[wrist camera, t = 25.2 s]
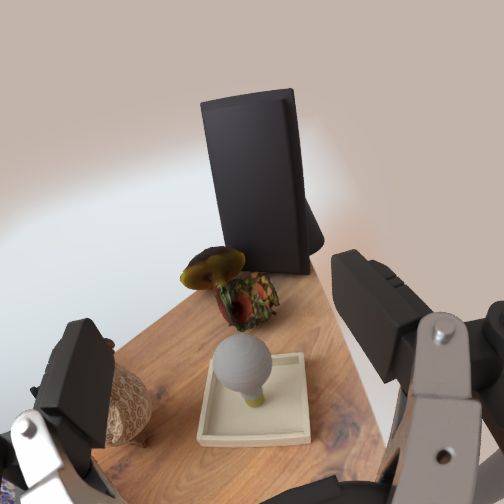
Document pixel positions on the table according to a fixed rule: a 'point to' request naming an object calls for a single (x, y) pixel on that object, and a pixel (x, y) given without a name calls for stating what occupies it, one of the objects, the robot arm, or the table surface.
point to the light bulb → (243, 366)
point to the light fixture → (261, 180)
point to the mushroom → (232, 286)
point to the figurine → (127, 408)
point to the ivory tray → (258, 409)
